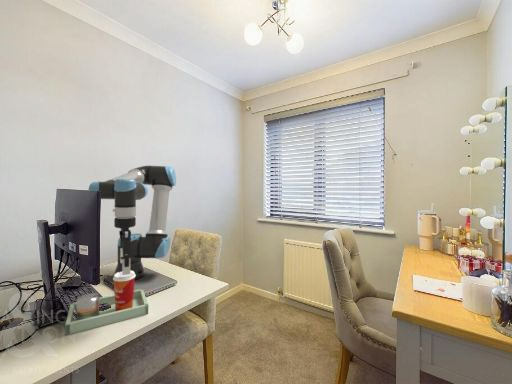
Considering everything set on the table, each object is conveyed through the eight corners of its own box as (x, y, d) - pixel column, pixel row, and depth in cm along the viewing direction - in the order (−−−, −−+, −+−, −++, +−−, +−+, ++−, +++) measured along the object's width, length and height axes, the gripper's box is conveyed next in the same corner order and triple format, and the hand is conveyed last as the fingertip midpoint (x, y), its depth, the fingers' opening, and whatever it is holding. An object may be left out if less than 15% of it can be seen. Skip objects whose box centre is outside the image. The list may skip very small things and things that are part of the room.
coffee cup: (110, 308, 95) (110, 273, 95) (131, 302, 101) (132, 268, 101) (115, 317, 89) (116, 279, 89) (138, 309, 95) (138, 274, 95)
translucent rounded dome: (77, 315, 90) (77, 295, 89) (99, 310, 94) (99, 291, 93) (75, 325, 84) (75, 304, 83) (99, 320, 88) (99, 299, 87)
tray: (70, 314, 92) (70, 303, 92) (142, 298, 106) (142, 288, 106) (65, 338, 79) (65, 325, 79) (148, 316, 93) (148, 305, 93)
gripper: (113, 212, 102) (113, 259, 103) (115, 223, 81) (115, 282, 83) (132, 211, 106) (132, 257, 107) (139, 222, 85) (139, 277, 87)
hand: (125, 268), depth 95 cm, fingers open, 13 cm apart
